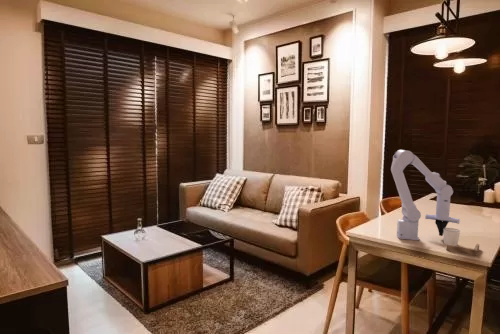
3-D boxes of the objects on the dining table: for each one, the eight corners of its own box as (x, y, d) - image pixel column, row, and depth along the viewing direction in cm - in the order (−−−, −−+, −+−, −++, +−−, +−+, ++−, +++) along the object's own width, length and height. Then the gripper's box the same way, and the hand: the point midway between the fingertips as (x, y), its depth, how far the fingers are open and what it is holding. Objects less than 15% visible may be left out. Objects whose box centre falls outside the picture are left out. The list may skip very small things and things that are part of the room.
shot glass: (457, 247, 154) (458, 232, 153) (440, 244, 159) (441, 229, 158) (460, 243, 159) (461, 229, 158) (444, 240, 164) (445, 226, 163)
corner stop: (493, 256, 143) (494, 250, 143) (459, 257, 142) (459, 251, 142) (477, 248, 152) (478, 243, 152) (445, 249, 151) (445, 244, 151)
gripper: (424, 207, 166) (423, 234, 167) (459, 212, 157) (457, 240, 158) (427, 205, 171) (426, 231, 173) (461, 209, 162) (459, 236, 164)
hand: (441, 235), depth 166 cm, fingers closed
